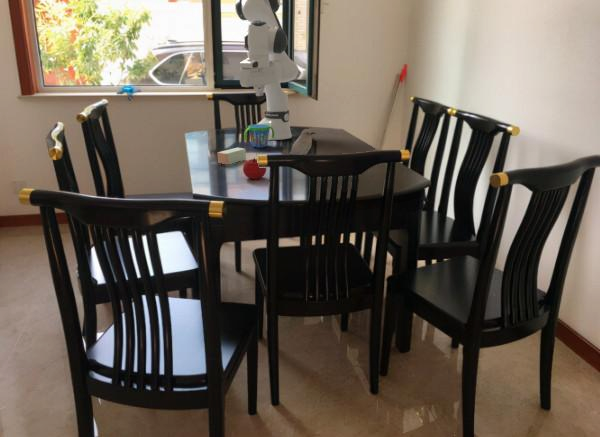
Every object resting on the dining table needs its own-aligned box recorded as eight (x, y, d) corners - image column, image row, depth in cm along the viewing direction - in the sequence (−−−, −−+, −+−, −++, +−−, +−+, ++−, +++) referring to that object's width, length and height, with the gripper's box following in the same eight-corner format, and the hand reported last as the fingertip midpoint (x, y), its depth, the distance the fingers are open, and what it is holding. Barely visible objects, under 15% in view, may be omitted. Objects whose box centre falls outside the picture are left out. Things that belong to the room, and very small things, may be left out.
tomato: (269, 180, 192) (268, 159, 189) (246, 182, 189) (245, 161, 187) (262, 174, 200) (262, 154, 197) (240, 176, 197) (239, 156, 194)
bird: (313, 166, 210) (312, 130, 205) (284, 163, 216) (283, 128, 211) (318, 164, 214) (318, 128, 209) (289, 161, 220) (289, 126, 215)
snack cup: (270, 143, 257) (270, 122, 253) (278, 147, 248) (278, 126, 244) (241, 146, 251) (240, 125, 247) (248, 150, 242) (247, 128, 238)
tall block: (237, 158, 226) (218, 164, 217) (237, 147, 224) (217, 152, 215) (246, 160, 223) (226, 165, 214) (245, 148, 222) (225, 153, 213)
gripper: (269, 60, 224) (269, 92, 229) (236, 63, 209) (237, 97, 214) (280, 61, 220) (280, 93, 226) (248, 64, 205) (249, 99, 210)
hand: (259, 95), depth 220 cm, fingers closed
